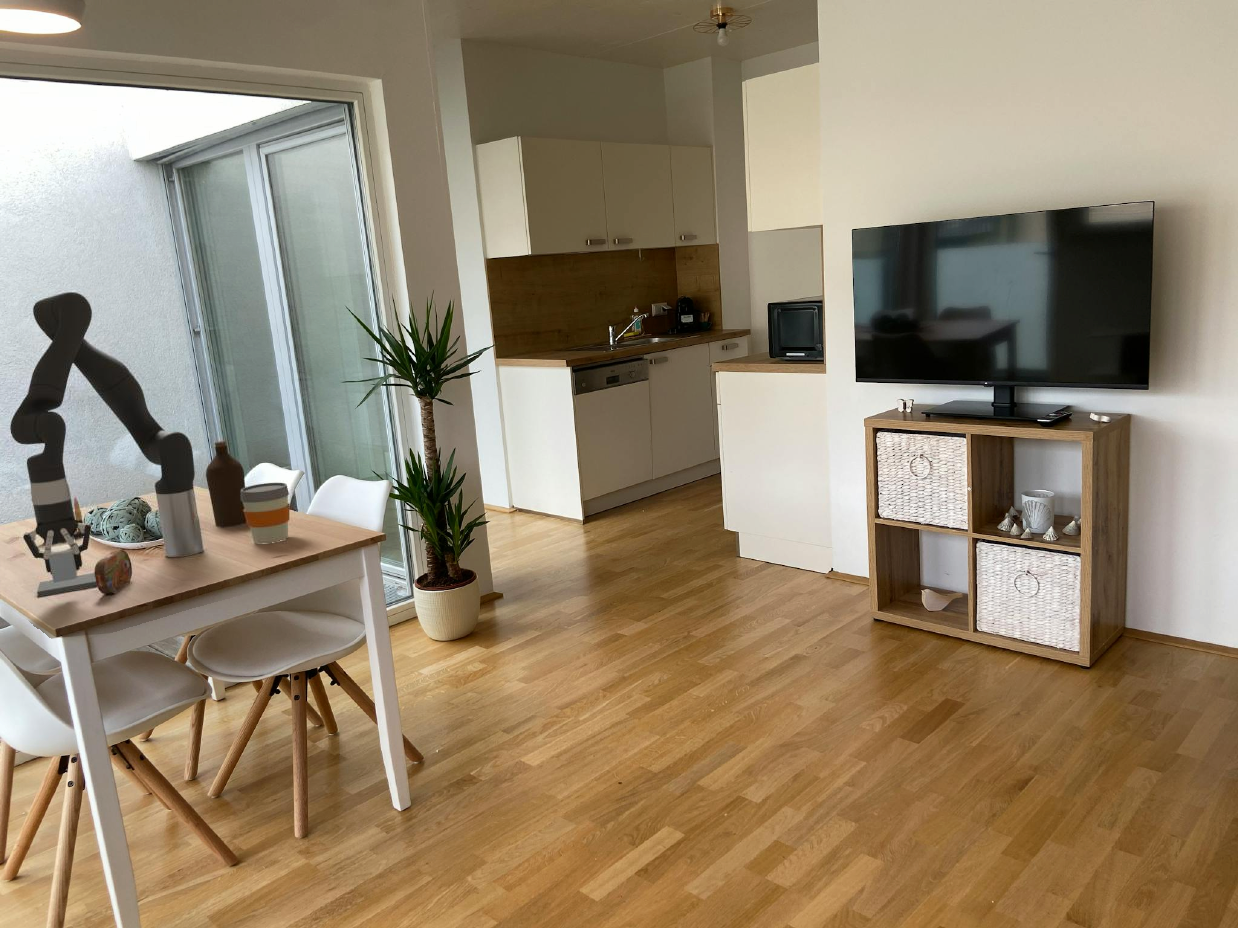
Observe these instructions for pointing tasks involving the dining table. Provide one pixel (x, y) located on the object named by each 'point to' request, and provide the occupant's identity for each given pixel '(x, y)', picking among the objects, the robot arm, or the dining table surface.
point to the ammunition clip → (77, 519)
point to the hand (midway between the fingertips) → (65, 571)
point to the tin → (113, 572)
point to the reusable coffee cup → (266, 511)
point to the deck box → (62, 563)
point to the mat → (67, 585)
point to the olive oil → (226, 487)
